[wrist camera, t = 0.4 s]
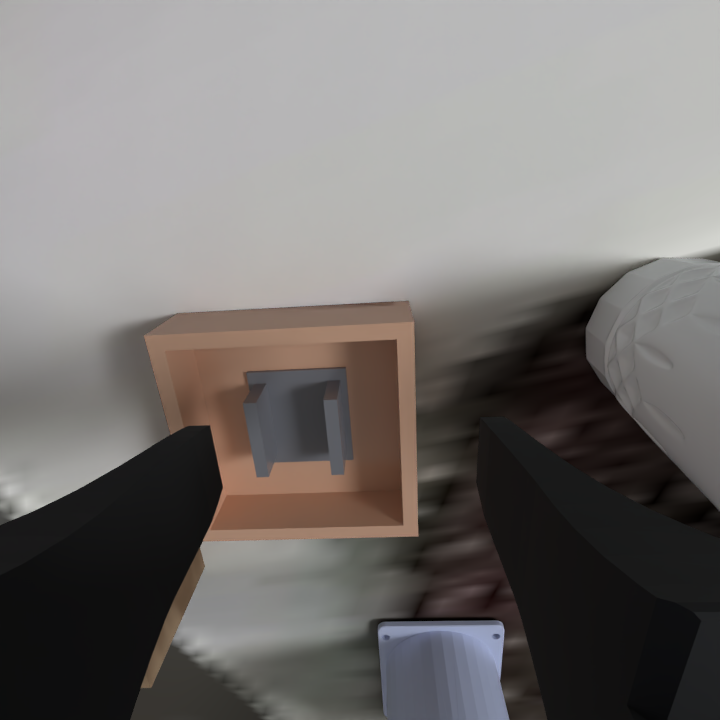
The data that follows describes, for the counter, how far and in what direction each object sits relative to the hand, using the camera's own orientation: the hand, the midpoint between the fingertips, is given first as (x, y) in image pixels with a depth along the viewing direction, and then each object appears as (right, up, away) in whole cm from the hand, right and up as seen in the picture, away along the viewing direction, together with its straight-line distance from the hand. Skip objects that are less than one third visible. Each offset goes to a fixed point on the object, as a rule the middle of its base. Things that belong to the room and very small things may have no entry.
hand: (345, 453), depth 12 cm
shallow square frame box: (-2, 0, +11) cm, 11 cm away
